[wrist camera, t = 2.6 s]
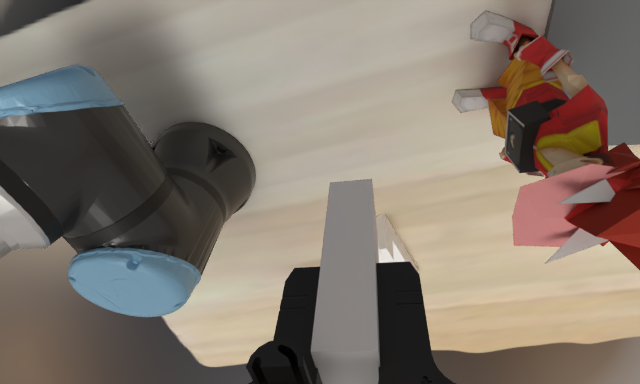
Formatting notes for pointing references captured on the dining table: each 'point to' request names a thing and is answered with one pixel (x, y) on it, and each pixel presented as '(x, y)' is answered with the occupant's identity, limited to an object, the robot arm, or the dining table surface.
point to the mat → (604, 56)
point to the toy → (557, 147)
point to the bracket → (390, 243)
